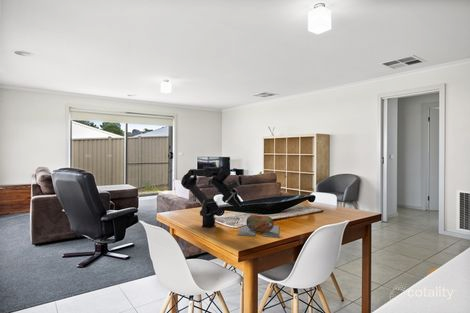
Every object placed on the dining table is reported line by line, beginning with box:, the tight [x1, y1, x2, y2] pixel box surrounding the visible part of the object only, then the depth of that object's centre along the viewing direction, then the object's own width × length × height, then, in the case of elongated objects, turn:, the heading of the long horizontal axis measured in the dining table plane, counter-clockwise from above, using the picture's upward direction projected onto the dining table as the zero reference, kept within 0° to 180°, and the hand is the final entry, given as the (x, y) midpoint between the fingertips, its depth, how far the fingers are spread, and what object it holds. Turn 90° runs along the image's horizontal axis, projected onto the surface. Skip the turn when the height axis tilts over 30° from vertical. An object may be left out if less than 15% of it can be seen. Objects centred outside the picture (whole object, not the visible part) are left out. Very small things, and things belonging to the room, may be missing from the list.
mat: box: [237, 225, 280, 238], centre depth 153 cm, size 21×20×1 cm
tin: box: [245, 214, 275, 233], centre depth 151 cm, size 15×3×8 cm, turn 66°
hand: (240, 205), depth 153 cm, fingers open, 9 cm apart
